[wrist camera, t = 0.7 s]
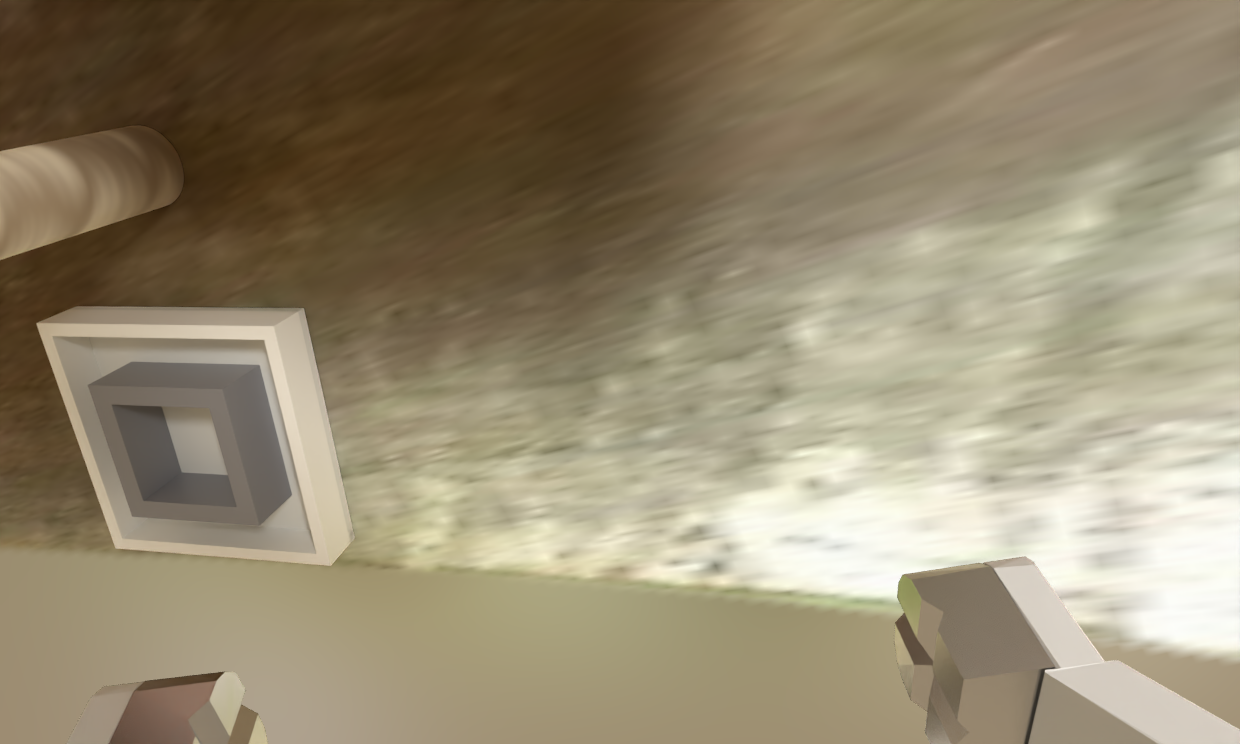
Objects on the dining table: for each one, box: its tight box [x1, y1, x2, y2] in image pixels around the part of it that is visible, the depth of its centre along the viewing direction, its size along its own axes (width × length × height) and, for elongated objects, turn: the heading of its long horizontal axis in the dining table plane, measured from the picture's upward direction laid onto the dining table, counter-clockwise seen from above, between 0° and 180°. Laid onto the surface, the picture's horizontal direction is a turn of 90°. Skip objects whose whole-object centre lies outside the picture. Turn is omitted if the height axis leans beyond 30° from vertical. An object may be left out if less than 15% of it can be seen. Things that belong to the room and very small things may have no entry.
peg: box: [0, 125, 184, 260], centre depth 41 cm, size 4×4×14 cm
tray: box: [36, 306, 355, 566], centre depth 52 cm, size 16×16×4 cm
